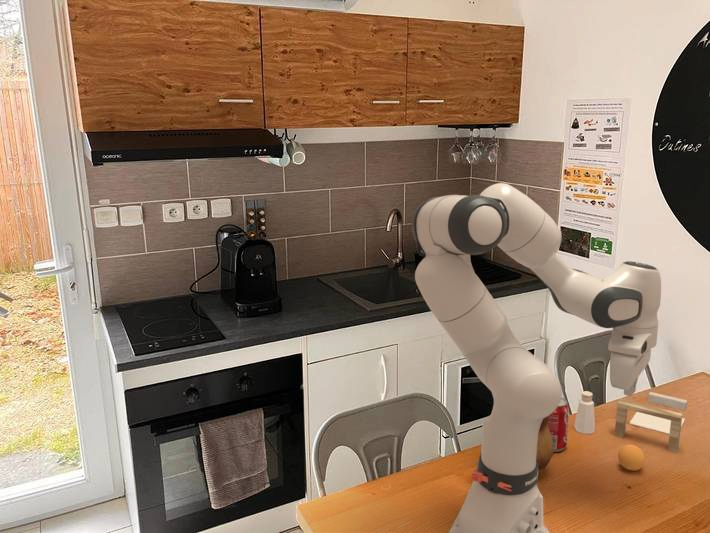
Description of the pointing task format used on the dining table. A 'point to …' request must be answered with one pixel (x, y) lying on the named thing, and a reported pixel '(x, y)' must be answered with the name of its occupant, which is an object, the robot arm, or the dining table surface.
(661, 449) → the dining table surface
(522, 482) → the robot arm
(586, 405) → the salt shaker
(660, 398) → the wooden block bar
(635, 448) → the ball
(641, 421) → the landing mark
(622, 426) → the bridge
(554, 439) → the soda can
